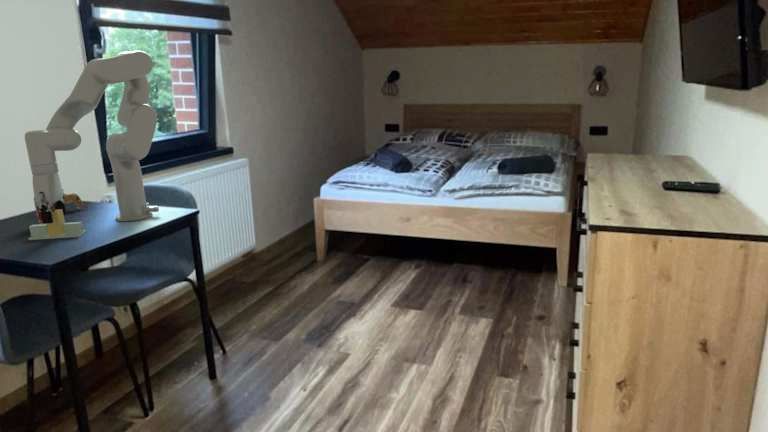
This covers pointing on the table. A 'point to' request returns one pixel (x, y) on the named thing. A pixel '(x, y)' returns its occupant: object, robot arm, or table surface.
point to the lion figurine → (73, 200)
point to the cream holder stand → (70, 231)
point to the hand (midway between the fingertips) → (54, 219)
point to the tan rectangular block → (56, 222)
